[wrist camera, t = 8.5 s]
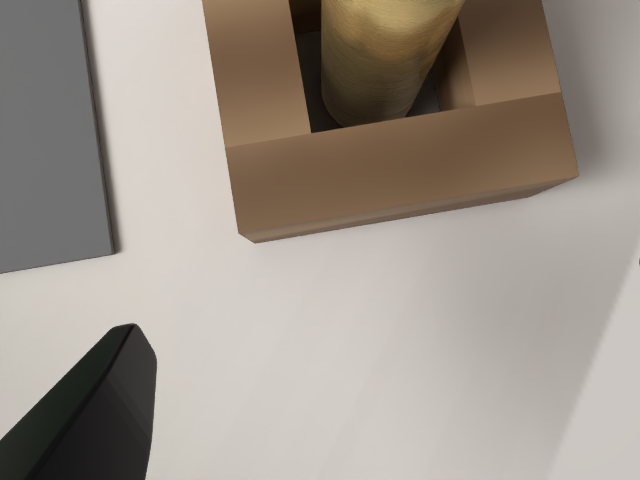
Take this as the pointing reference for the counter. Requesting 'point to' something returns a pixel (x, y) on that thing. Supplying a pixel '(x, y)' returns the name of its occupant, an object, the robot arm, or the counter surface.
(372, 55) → the brass pin
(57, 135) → the charcoal mat
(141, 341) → the robot arm
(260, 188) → the wooden socket block
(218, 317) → the counter surface
